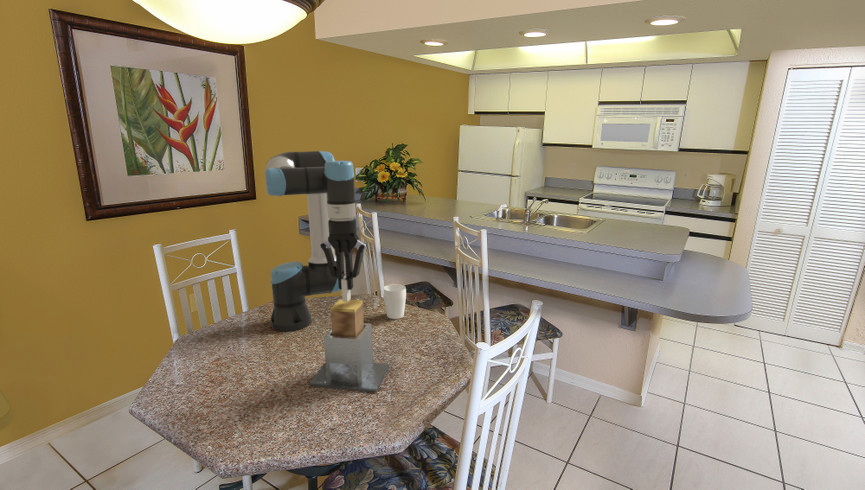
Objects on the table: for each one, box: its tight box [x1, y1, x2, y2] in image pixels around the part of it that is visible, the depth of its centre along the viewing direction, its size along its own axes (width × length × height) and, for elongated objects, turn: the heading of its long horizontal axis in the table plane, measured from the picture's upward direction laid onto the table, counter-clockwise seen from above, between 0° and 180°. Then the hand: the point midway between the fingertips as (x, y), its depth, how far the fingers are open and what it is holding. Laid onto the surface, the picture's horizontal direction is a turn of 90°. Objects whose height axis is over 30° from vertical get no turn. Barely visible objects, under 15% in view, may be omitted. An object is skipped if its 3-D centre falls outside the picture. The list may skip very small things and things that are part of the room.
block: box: [330, 298, 365, 337], centre depth 124 cm, size 7×7×14 cm
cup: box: [382, 283, 407, 320], centre depth 170 cm, size 9×9×12 cm
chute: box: [308, 322, 390, 394], centre depth 126 cm, size 20×14×15 cm
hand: (346, 299), depth 122 cm, fingers closed
